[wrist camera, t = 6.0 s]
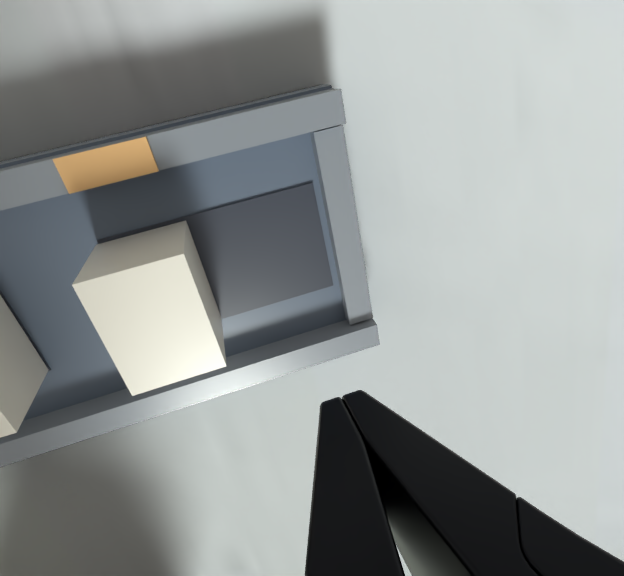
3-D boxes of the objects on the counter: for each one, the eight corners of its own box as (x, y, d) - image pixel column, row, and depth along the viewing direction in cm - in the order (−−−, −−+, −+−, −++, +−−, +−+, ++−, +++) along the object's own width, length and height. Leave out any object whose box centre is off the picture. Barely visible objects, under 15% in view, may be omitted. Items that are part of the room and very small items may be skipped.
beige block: (221, 317, 16) (226, 366, 13) (143, 341, 16) (132, 396, 13) (186, 220, 14) (183, 253, 12) (96, 244, 14) (71, 284, 11)
